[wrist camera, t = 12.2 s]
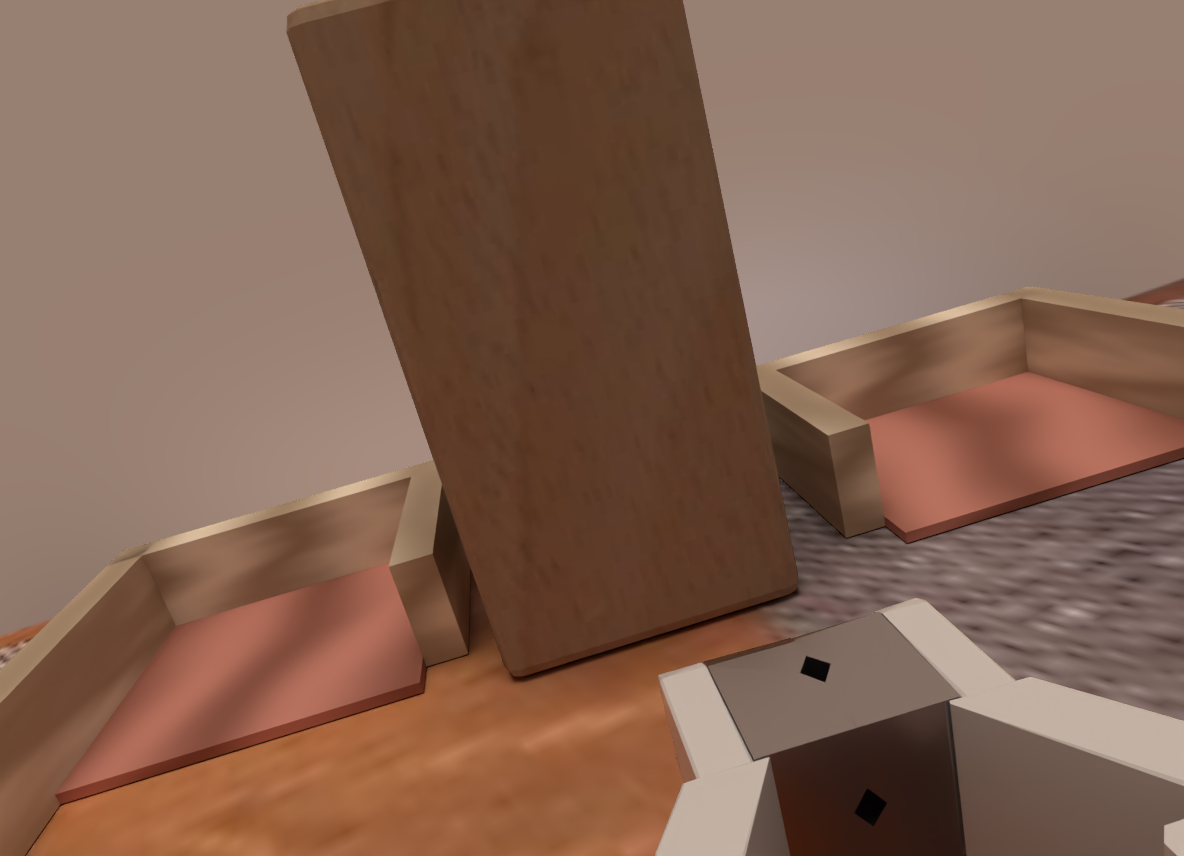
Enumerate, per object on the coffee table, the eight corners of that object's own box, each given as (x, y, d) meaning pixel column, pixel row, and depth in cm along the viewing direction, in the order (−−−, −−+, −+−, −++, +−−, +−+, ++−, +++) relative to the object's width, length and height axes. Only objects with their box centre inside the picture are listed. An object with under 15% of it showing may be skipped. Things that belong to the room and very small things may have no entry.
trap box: (-320, 1259, 15) (-462, 1118, 13) (159, 626, 37) (122, 550, 35) (1750, 572, 17) (1786, 401, 16) (1036, 364, 39) (1029, 286, 38)
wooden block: (718, 488, 35) (607, 2, 29) (806, 595, 26) (669, -95, 20) (501, 553, 34) (343, 71, 28) (509, 687, 25) (274, 6, 19)
